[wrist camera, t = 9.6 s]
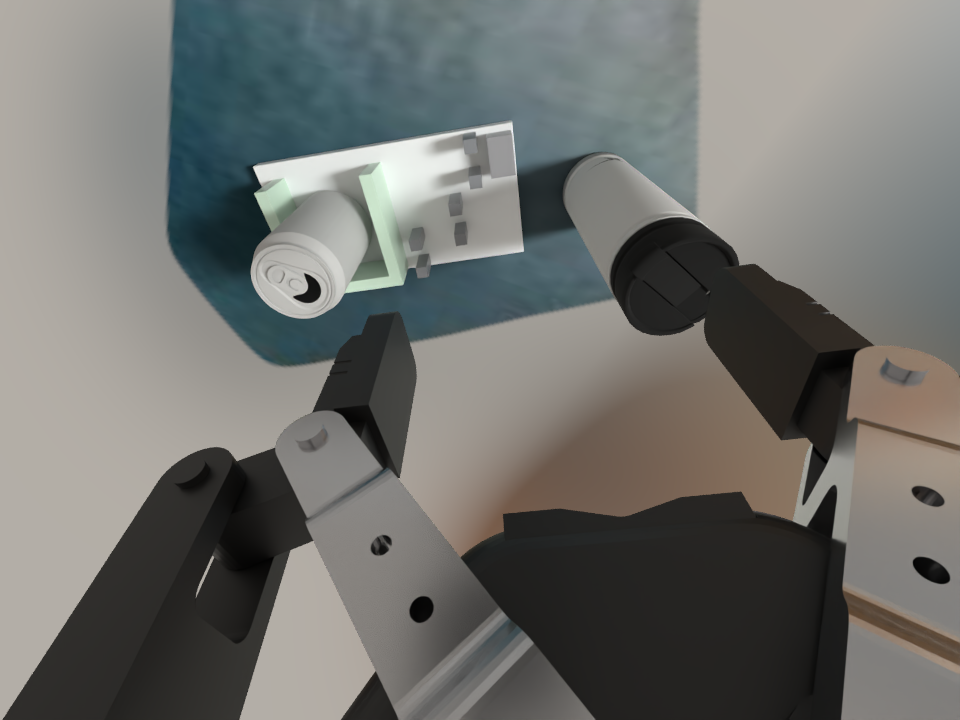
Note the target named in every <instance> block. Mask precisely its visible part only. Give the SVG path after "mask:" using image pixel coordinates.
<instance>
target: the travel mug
mask: <svg viewBox="0 0 960 720" xmlns="http://www.w3.org/2000/svg"><path fill="white" fill-rule="evenodd" d="M563 202H564V205H565V208H566V210H567V212H568V213H569V215H570V217H571V219H572V221H573V223H574V224H575V226H576V228H577V230H578V232H579V234H580V235H581V237H582V239H583V241H584V243H585V245H586V246H587V248H588V250H589V252H590V254H591V256H592V257H593V259H594V261H595V263H596V265H597V267H598V268H599V270H600V272H601V274H602V276H603V278H604V279H605V281H606V283H607V285H608V287H609V288H610V290H611V292H612V294H613V296H614V297H615V299H616V300H617V302H618V303H619V305H620V306H621V308H622V310H623V312H624V314H625V316H626V317H627V319H628V321H629V323H630V324H631V325H633V327H635V328H636V329H637V330H639V331H641V332H643V333H646V334H650V335H659V336H662V335H671V334H676V333H680V332H683V331H685V330H687V329H689V328H691V327H693V326H694V323H696V322H699V321H701V320H702V319H704V318H705V317H706V313H707V308H708V303H709V298H710V294H711V289H712V284H713V279H714V276H715V274H716V272H717V271H718V270H719V269H720V268H726V267H733V266H739V261H738V257H737V254H736V253H735V251H734V250H733V248H732V247H731V246H730V245H728V244H727V243H726V242H725V241H724V240H722V239H721V238H720V237H719V236H717V235H716V234H715V233H713V232H712V231H711V229H710V228H709V227H708V226H707V225H705V224H704V223H703V222H702V221H700V220H699V219H698V218H697V217H695V216H694V215H693V214H692V213H690V212H689V211H688V210H687V209H685V208H684V207H683V206H681V205H680V204H679V203H678V202H676V201H675V200H674V199H673V198H671V197H670V196H669V195H668V194H666V193H665V192H664V191H663V190H661V189H660V188H659V187H658V186H656V185H655V184H654V183H652V182H651V181H650V180H649V179H647V178H646V177H645V176H644V175H642V174H641V173H640V172H639V171H637V170H636V169H635V168H634V167H632V166H631V165H630V164H629V163H627V162H626V161H625V160H624V159H622V158H621V157H620V156H618V155H616V154H613V153H608V152H598V153H594V154H591V155H589V156H587V157H585V158H583V159H582V160H580V161H579V162H578V163H577V164H576V165H575V166H574V167H573V168H572V169H571V171H570V172H569V174H568V176H567V178H566V180H565V183H564V187H563Z"/></svg>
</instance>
